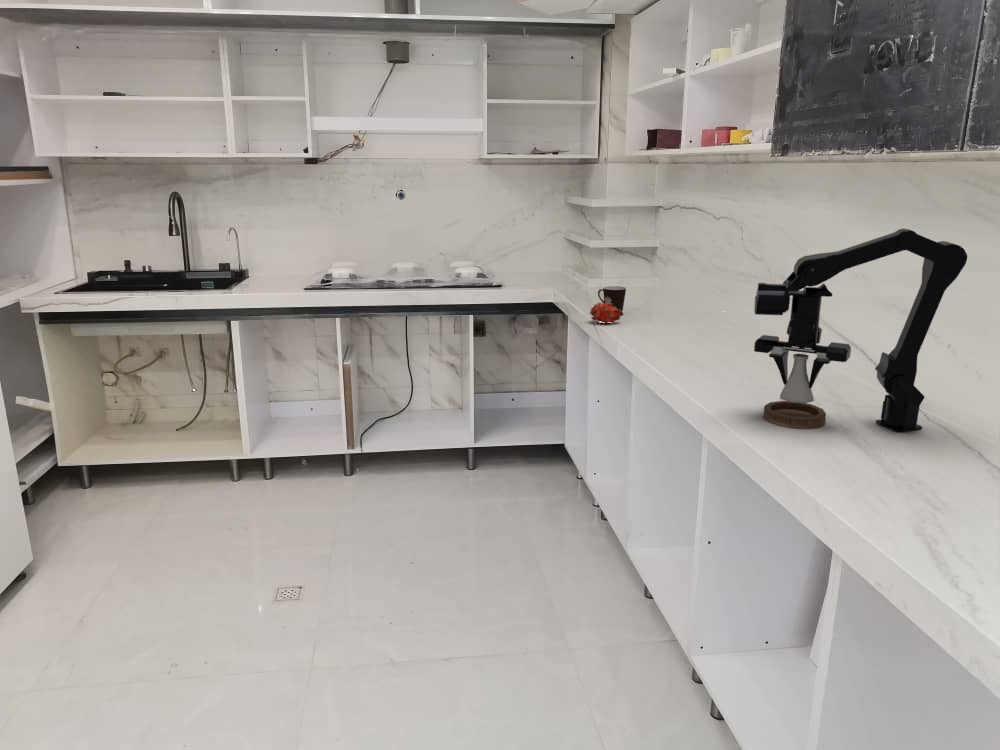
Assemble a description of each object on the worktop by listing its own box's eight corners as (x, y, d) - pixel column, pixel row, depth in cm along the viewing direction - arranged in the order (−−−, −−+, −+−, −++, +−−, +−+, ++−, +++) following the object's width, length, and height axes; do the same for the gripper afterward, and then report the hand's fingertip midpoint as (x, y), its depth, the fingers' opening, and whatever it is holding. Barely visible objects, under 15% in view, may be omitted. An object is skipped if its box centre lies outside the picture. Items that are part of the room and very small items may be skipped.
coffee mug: (628, 315, 273) (630, 289, 270) (607, 317, 271) (608, 290, 268) (616, 309, 284) (617, 284, 281) (595, 311, 281) (596, 285, 279)
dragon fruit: (586, 327, 261) (619, 332, 261) (590, 317, 253) (624, 322, 253) (589, 306, 264) (621, 310, 264) (592, 295, 256) (626, 300, 256)
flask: (785, 392, 165) (790, 349, 162) (818, 398, 160) (823, 354, 157) (773, 400, 159) (778, 356, 157) (807, 406, 155) (812, 361, 152)
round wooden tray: (838, 425, 157) (840, 415, 156) (787, 431, 153) (788, 422, 153) (798, 406, 169) (799, 398, 168) (750, 412, 165) (751, 403, 165)
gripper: (858, 313, 156) (850, 383, 160) (769, 306, 166) (763, 371, 170) (850, 323, 147) (841, 396, 152) (756, 314, 157) (750, 383, 161)
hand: (797, 386), depth 159 cm, fingers closed on flask, 5 cm apart
